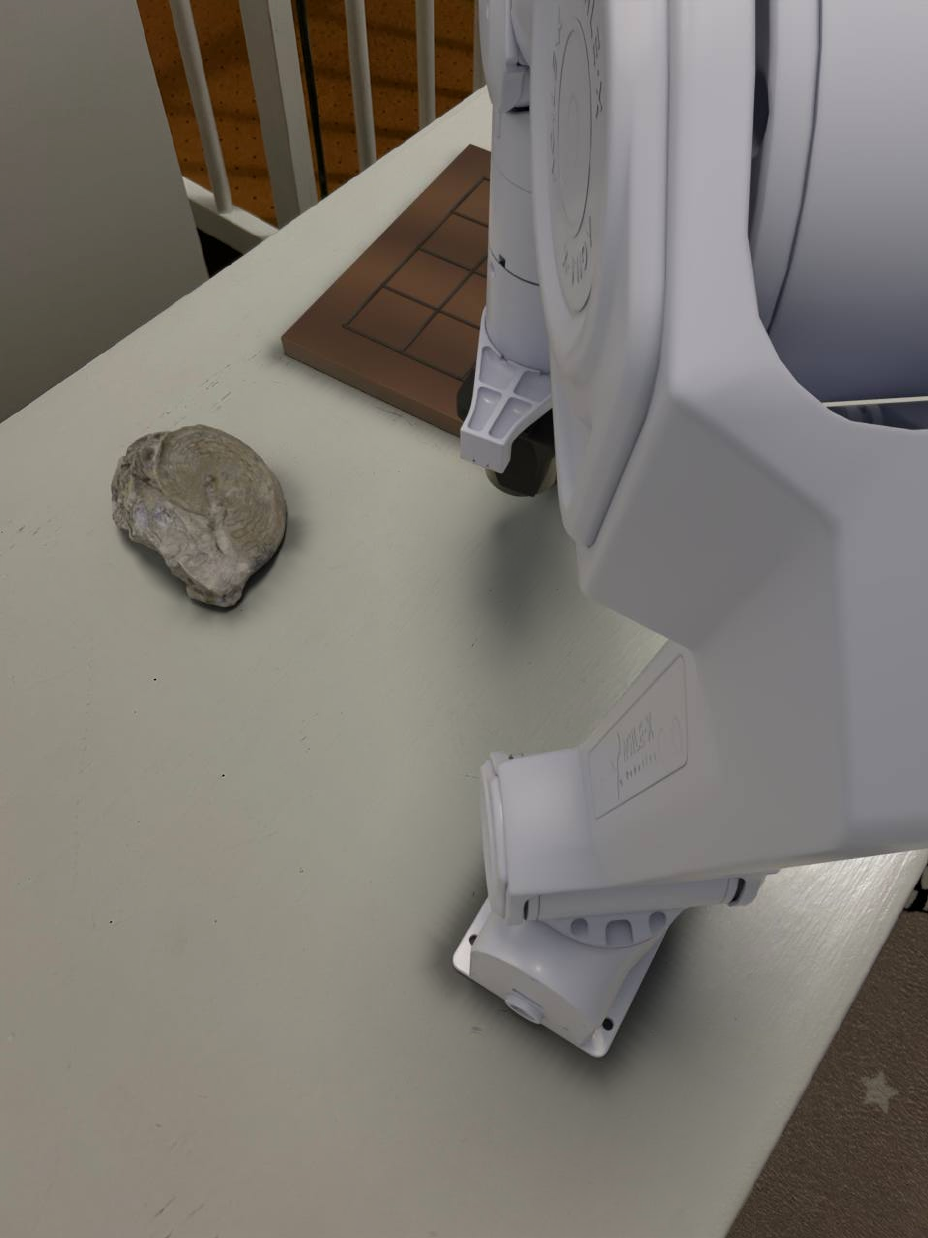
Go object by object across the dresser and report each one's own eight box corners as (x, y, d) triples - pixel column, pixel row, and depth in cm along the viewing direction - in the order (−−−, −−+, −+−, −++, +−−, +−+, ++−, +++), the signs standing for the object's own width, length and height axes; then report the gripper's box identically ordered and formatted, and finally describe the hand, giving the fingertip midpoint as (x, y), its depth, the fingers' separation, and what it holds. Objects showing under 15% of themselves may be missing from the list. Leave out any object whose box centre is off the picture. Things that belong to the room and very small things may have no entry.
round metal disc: (471, 478, 52) (472, 447, 50) (506, 428, 54) (508, 395, 51) (537, 508, 51) (541, 477, 49) (571, 456, 53) (576, 424, 50)
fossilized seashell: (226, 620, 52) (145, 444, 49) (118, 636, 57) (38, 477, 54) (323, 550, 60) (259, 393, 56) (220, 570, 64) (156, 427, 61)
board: (603, 505, 59) (607, 489, 57) (283, 353, 65) (279, 335, 63) (758, 273, 69) (764, 254, 68) (469, 160, 75) (469, 141, 74)
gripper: (584, 394, 35) (552, 589, 47) (709, 163, 42) (653, 386, 53) (410, 333, 37) (422, 538, 48) (557, 119, 43) (535, 346, 55)
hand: (535, 455), depth 51 cm, fingers closed on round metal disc, 4 cm apart
